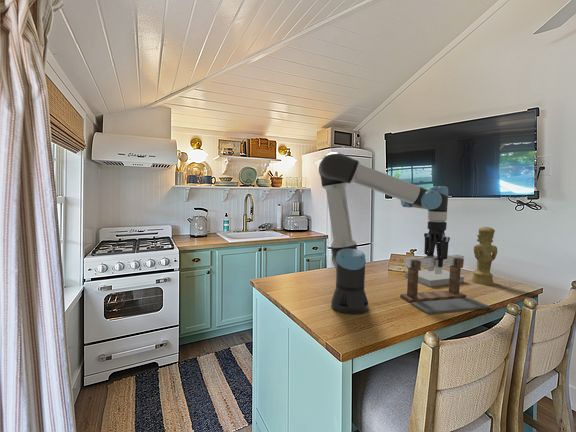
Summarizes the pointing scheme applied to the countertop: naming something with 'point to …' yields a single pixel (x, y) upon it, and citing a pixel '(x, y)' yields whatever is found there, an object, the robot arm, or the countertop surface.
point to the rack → (436, 295)
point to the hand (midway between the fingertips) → (434, 272)
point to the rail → (432, 260)
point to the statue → (484, 256)
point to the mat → (449, 305)
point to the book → (434, 278)
